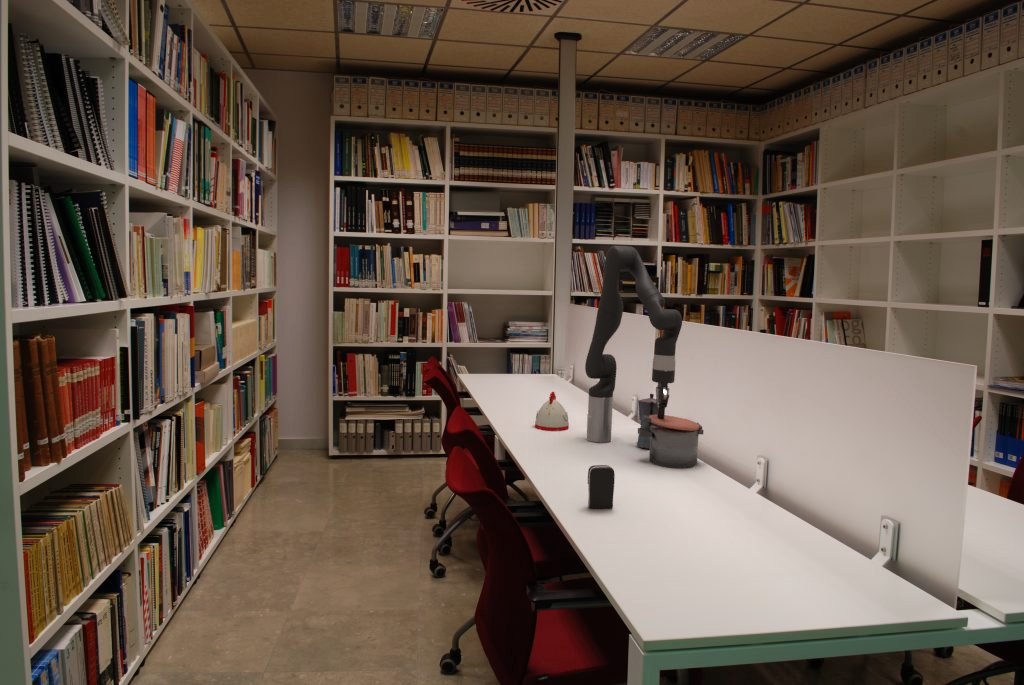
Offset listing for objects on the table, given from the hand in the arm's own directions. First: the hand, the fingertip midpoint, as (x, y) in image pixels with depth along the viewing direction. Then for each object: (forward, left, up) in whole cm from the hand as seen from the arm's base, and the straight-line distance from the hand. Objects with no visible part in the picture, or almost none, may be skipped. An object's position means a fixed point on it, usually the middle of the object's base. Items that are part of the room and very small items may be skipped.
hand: (660, 418), depth 238 cm
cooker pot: (+3, 0, -15) cm, 15 cm away
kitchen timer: (-36, +49, -15) cm, 63 cm away
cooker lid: (+4, 0, -2) cm, 4 cm away
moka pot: (0, +20, -15) cm, 25 cm away
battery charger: (-24, -51, -15) cm, 58 cm away
